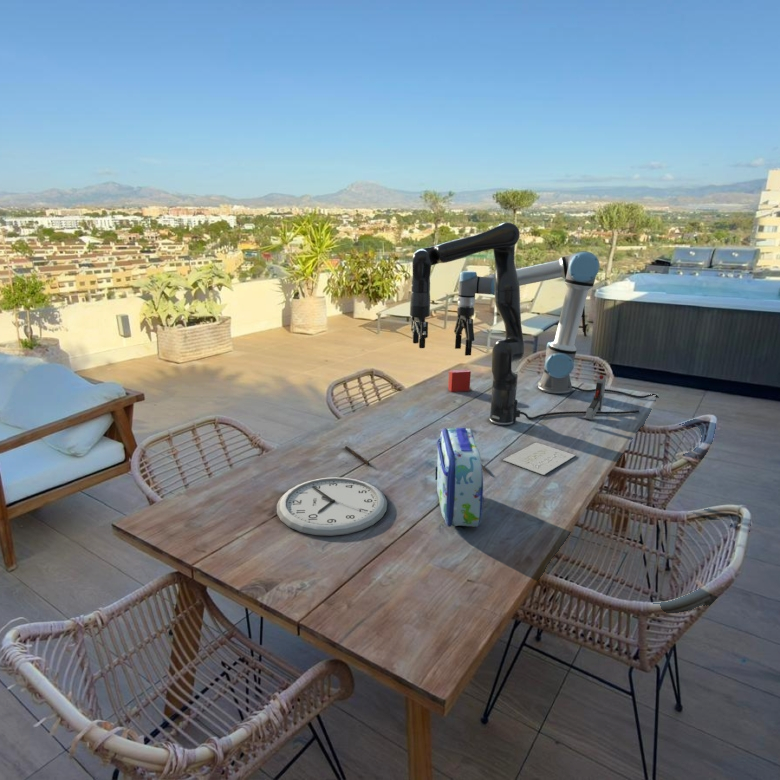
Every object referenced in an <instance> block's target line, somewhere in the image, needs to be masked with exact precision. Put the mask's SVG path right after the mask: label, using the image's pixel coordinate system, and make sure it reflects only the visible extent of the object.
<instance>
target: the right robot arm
mask: <svg viewBox="0 0 780 780" xmlns="http://www.w3.org/2000/svg"><path fill="white" fill-rule="evenodd" d="M516 271H517V275H518V280H519V286H526V285H530V284H536V283H541V282H545V281H550V280H555V279H560V278H562V279H564V283H565V285H566V287H567V288H566V291H565V296H564V298H563V299H564V300H563V303H562V307H561V312H560V316H559V321H558V324H557V328H556V332H555V336H554V340H553V341H548V342H547V344H546V347H545V349H546V350H545V359H544V367H543V369H544V370H543V374H542V376H541V378H540V380H539V381H538V383H537V386H538V388H537V389H538V390H539V391H541V392H543V393H546V394H553V395H568V394H571V393H572V391H573V389H574V390H577V391H579V392H584V393H591V392H595V391H596V388H593V389H583V388H580V387H577V386H574V385H572V381H571V376H570V375H571V374H572V372H573V370H574V367H575V363H574V362H575V358H576V356H577V355H576V354H577V350H578V349H577V347H576V346H575V343H576V340H577V335H578V332H579V328H580V324H581V320H582V316H583V313H584V308H585V305H586V301H587V297H588V293H589V291H590V290H591V289H593V288H594V285H595V282H596V277H597V275H598V273H599V271H600V261H599V259H598V257H597V255H595V254H594V253H593V252H590V251H587V250H581V251H577V252H574V253H572V254H568V255H565V256H561V257H560V258H559V259H558V260H554V261H549V262H544V263H539V264H535V265H531V266H525V267H522V268H518V269H517V268H516ZM457 294H458V297H457V299H456V301H457V305H458V306H457V310H456V314H457V316H456V322H455V325H454V330H453V332H454V334H455V341H454V349H455V350H461V349H462V339H463V338H462V337H463V336H462V335H463V331H464V333H465V348H464V356H466V357H467V356H472V349H473V348H472V347H473V342H474V341H475V331H474V319H473V318H471V317H472V316H474V314H475V307H474V306H475V305H476V294H478V295H479V294H480V295H492V296H495V273H492V274H489V275H488V276H479V275H478V273H477V271H474V270H473V271H471V270H463V271H461V272H460V273H459V280H458V293H457ZM604 392H607V393H615V394H621V395H625V396H628V397H632V398H637V399H646V398H649V397H655V398H656V399H660V397H659V395H658V394H656V393H649V394H650V395H649V394H646V395H637V394H632V393H628V392H624V391H619V390H615V389H614V390H613V389H606V388H605V391H604ZM651 394H652V395H651ZM653 395H656V396H653Z"/></svg>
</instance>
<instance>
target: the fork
mask: <svg viewBox="0 0 780 780" xmlns="http://www.w3.org/2000/svg"><path fill="white" fill-rule="evenodd" d="M482 471H483V472H485V473H486V474H488V470H486V468H485V467H484V466H483V465H482Z"/></svg>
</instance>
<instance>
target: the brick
mask: <svg viewBox="0 0 780 780" xmlns="http://www.w3.org/2000/svg"><path fill="white" fill-rule="evenodd" d="M471 374H472V371H470V370H469V369H451V370H449V371H448V387H447V388H448V391H450V393H455V392H456V393H457V392H470V387H471Z"/></svg>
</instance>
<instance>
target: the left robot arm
mask: <svg viewBox="0 0 780 780" xmlns="http://www.w3.org/2000/svg"><path fill="white" fill-rule="evenodd" d="M520 233H521V232H520V229H519V227H518V226H517V225H516V224H514V223H512V222H503V223H500V224H499V225H497V226H495V227H493V228H490V229H489V230H486V231H484V232H481V233H478V234H475V235H470V236H466V237H461V238H458V239H453V240H451V241H446V242H444V243H440V244H437V245H434V246H429V247H425V248H420V249H417V250H416V251H414V252H413V254H412V257H411V259H412V260H411V261H412V278H411V289H410V290H411V292H410V293H411V294H410V297H409V298H410V303H409V316H410V317H411V323H410V325H411V327H410V331H411V333H412V343H413V344H414V345H415V344H418V348H419V349H425V348H426V339H428V338H429V322H428V321H426V318H429V317H430V315H431V273H432V266H434V265H438V264H446V263H450V262H454V261H457V260H460V259H463V258H466V257H469V256H472V255H475V254H477V253H481V252H485V251H489V250H492V251H493V258H494V274H495V295H494V304H495V307H496V310H497V313H498V314H499V316H500V317H501V321H502V322H503V324H504V330H505V331H504V332H505V338H504V339H499V340H497V341H495V343H494V344H493V345H492V350H491V373H492V388H491V399H490V410H489V411H490V413H489V414H490V415H489V422H490V423H491V424H494V425H497V426H511V425H513V424H516V423H517V418H521V415H523V416H524V417H525V418H526V419H527V420H535V419H539V418H542V417H547V416H553V415H554V416H556V415H569V414H571V415H573V414H586V410H584V411H582V410H579V411H577V410H575V411H558V412H557V411H555V412H547V413H541V414H538V415H535V416H529V415H528V414H527V413H526V412H524V411H521V410H520V409H519V408H518V399H517V388H518V377H519V376H518V373H517V372H516V371H514V370H512V363H515V362H516V363H517V362H519V361H521V360H522V358H523V357H524V355H525V343H524V335H523V328H522V327H523V326H522V317H521V315H522V314H521V290H520V289H521V288H520V286H519V280H518V275H517V271H516V270H517V268H516V262H515V260H516V259H515V257H516V256H515V253H516V251H515V249H516V245H517V243H518V242H519V240H520V235H521V234H520ZM637 413H640V410H639V409H638V410H626V411H601V412H600V411H597V412H596V414H595V415H597V414H599V415H621V414H622V415H623V414H637Z"/></svg>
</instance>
